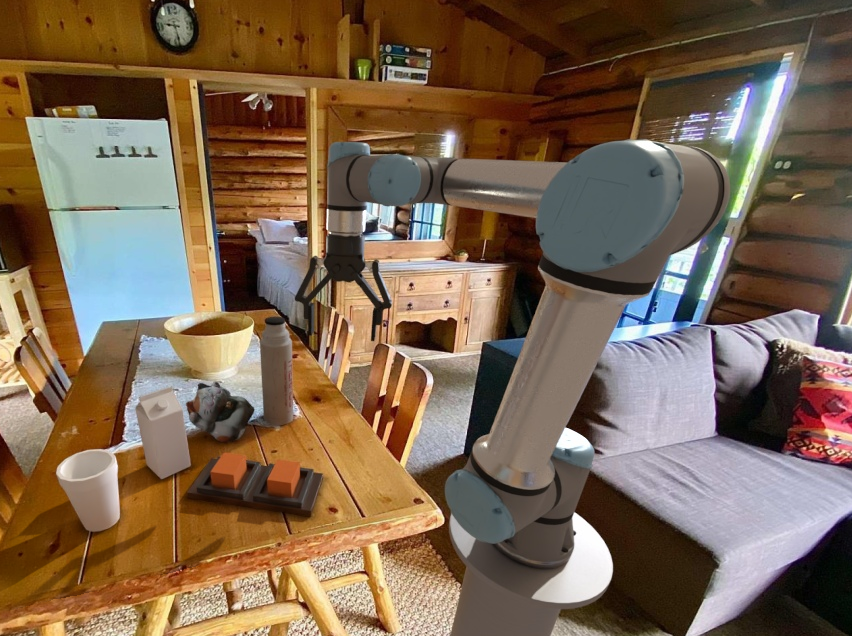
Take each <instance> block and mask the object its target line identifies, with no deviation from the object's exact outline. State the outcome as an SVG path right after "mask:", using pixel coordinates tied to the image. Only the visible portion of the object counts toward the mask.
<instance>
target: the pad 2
mask: <svg viewBox="0 0 852 636" xmlns="http://www.w3.org/2000/svg"><path fill="white" fill-rule="evenodd" d="M274 464H275V465H274V467H273V469H272V471H271V473H270V475H269V477H268V479H267V487H268V495H274V496H280V497H287V498H292V496H293V494H294V491H295V489H296V486H297V484H298V481H299V478H300V467H301V462H298V461H292V460H284V459H276V461H275V463H274Z"/></svg>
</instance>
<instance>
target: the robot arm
mask: <svg viewBox="0 0 852 636" xmlns="http://www.w3.org/2000/svg"><path fill="white" fill-rule="evenodd" d="M327 159H328V160H327V164H326V169H327V172H326V173H327V176H326V177H327V178H326V180H327V184H326V185H327V187H326V189H327V190H326V191H327V192H326V194H327V198H326V204H327V207H326V230H327V232H328V233H327V235H326V242H325V243H326V244H325V248H326V249H325V257H324V258H323V257H319V256H318V255H313V256H312V257H311V258H310V260H309V267H308V270H307V272H306V274H305V276H304V278H303V280H302V282H301V284H300V286H299V288H298V290H297V292H296V294H295V296H294V301H295V302H297V303H301V304H302V305H303V320H307V336H311V337H312V336H313V334H314V333H315V302H312V300H314V299H315V297H316V296H317V295H318V294H319V293H320V292H321V291H322V290H323V289H324V287H325V286H326V285H327V284H328V283H329V282H330V281H331V280H333V281H335V282H336V283H340V282H345V283H352V282H355V283H356V285H357V286H359V287H360V289H361V290H362V292H363V293H364V294H365V297H367V298H368V300H369V301H370V302H371V304H372V305H373V310H372V316H371V318H372V319H371V333H370V342H375V340H376V337H377V335H376V334H377V326H381V325H382V323H383V313H384V310H387V309H388V310H390V309H391V308H392V306H393V300H392V298H391V295H390V293H389V290H388V287H387V285H386V283H385V280H384V277H383V276H382V273H381V270H380V268H381V267H380V260H379V259H377V258H375V259H374V260H366V259H365V244H366V243H365V242H366V237H365V234H363V233H365V232H366V227H367V225H366V223H367V208H368V205H367V204H368V203H369V204H376V205H382V206H384V207H387V208H388V207H403V206H406V205H411V204H415V205H416V204H436V205H443V206H449V207H450V206H452V207H453V206H454V207H460V208H468V209H475V210H481V211H487V212H494V213H500V214H507V215H514V216H520V217H528V218H533V219H535V231H536V234H535V235H538V237H539V240H540V241H539V247H540V248H541V250H542V254H541V256H540V260H539V262H538V266H537V269H538V271H539V273H540V275H541V278H542V279H543V280H544V282H545V286H544V289H543V291H542V293H541V297H540V299H539V302H538V305H537V307H536V310H535V314H534V315H533V317H532V320H531V323H530V326H529V329H528V331H527V334H526V336H525V339H524V342H523V344H522V347H521V350H520V352H519V355H518V358H517V360H516V363H515V365H514V368H513V370H512V372H511V375H510V378H509V381H508V384H507V386H506V389H505V392H504V394H503V397H502V398H501V399H502V400H501V402H500V405H499V407H498V409H497V413H496V415H495V417H494V421H493V423H492V425H491V428H490V431H489V433H488V434H487V433H486V434H485V435H482V436H480V437H478V438H477V439H476V440H475V442H474V443H473V445H472V449H471V451H470V454H469V457H468V459H467V462H466V464H465V465H464V467H463V468H461V469H456V470H455V471H454V472H452V474H450V475H449V476H448V477H447V479H446V481H445V484H444V498H445V501H446V504H447V506H448V508H449V510H450V514H451V513H452V515H453V516H454V518H455V519H456V521H457V522H458V523H459V525H460V526H461V527H462V528H463V529H464V530H465V531H466V532H467V533H468V534H470V535H471V536H472V537H474V538H476V539H477V540H479V541H482V542H488V543H491V544H492V545H493V546H494V547H495V548H496V549H497V550H498V551H499V552H501V553H502V554H503V555H504V556H506V557H507V558H509V559H511V560H513V561H514V562H517V563H519V564H521V565H524V566H527V567H531V568H536V569H554V568H558V567H561V566H563V565H564V564H566V563H567V562H568V561H569V559H570V557H571V555H572V552H573V550H574V536H575V535H576V532H575V531H574V530H573V521H572V517H573V514H574V512H575V511H576V509H577V506H578V503H579V500H580V498H581V495H582V493H583V490H584V487H585V485H586V482H587V479H588V477H589V474H590V471H591V469H593V465H594V464H593V463H594V462H593V461H594V458H595V453H596V452H595V448H594V446H593V445H592V444H591V442H590V441H589V440H588V439H587V438H586V437H584V436H583V435H581V434H580V433H578V432H576V431H574V430H572V429H570V428H567V425H568V423H569V421H570V420H571V417H572V415H573V414H574V411H575V410H576V407H577V405H578V403H579V401H580V400H581V397H582V395H583V393H584V391H585V389H586V387H587V385H588V383H589V381H590V379H591V377H592V375H593V372H594V371H595V368H596V367H597V364H598V363H599V360H600V359H601V356H602V355H603V353H604V351H605V349H606V346H607V344H608V343H609V341H610V339H611V337H612V334H613V332H614V330H615V328H616V326H617V324H618V322H619V320H620V318H621V317H622V314H623V312H624V310H625V308H626V307H627V305H628V304H631V303H633V302H636V301H638V300H640V299H643V298H645V297H648V296H649V295H650V293H652V292H651V291H652V290H653V289H654V287H655V285H656V283H657V281H658V279H659V276H660V275H661V273H662V271H663V270H664V267H665V265H666V263H667V262H668V260H669V257H670V256H671V255H672V256H673V255H675V254H678V253H680V252H683V251H685V250H687V249H689V248H691V247H693V246H695V245H696V244H698V243H699V242H700V241H702V240H703V239H704V238H705V237H706V236H708V235H709V234H711V232H712V231H713V229H714V228H715V227H716V226H717V225H718V224H719V223H720V221H721V219H722V217H723V216H724V214H725V212H726V209H727V206H728V204H729V201H730V196H731V181H730V176H729V174H728V171H727V168H726V167H725V166H724V164H723V163H722V161H720V159H719V158H718V157H716V155H713V153H711V152H710V151H707V150H705V149H703V148H701V147H696V146H692V145H685V144H684V145H683V144H672V143H665V142H661V141H660V142H658V141H654V140H649V139H647V138H643V139H630V138H627V139H625V140H615V141H614V140H613V141H609V142H604V143H600V144H598V145H595V146H592V147H590V148H588V149H586V150H584V151H583V152H581V153H580V154H578V155H576V156H575V157H574V158H572V159H570V160H569V161H568V162H565V161H563V162H561V161H560V162H559V161H540V160H539V161H537V160H536V161H535V160H512V159H509V160H508V159H485V158H484V159H483V158H458V157H449V156H448V157H447V156H445V157H437V156H435V157H433V156H413V155H403V154H400V153H399V154H398V153H397V154H394V153H389V154H373V155H371V147H370V145H369V144H368V143H366V142H357V141H335V142H332V143H331V144H330V146H329V147H328V158H327ZM322 265H323V267H324V268H325V269H326V271H327V274H326V275H325V276H324V277H323V278H322V279H321V281H319V283H318V284H317V285H316V286H315V287H314V288H313V289H312V290H311V292H309V294H308V295H305V293H306V292H307V289H308V287H309V286H310V284H311V281H312V279H313V277H314V276H315V274H316V272H317V270H318V269H320V268H321V266H322ZM366 268H367V269H368V272H370V273H372V276H373V279H374V281H375V284H376V286H377V289H378V292H379V293H380V296H381V299H382V300H381V299H380V297H379V296H378V294H377V293H376V292H375V290H374V289H373V288H372V286H371V285H370V284H369V282H368V281H367V280H366V277H365V276H364V275H363V274H362V272H363V271H364V270H365V269H366Z"/></svg>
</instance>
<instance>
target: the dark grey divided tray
mask: <svg viewBox="0 0 852 636" xmlns="http://www.w3.org/2000/svg"><path fill="white" fill-rule="evenodd" d="M220 457H221V456H219V455H218V456H217V457H216V458H213V457H212V458H211V459H210V460H209V461H208V462H207V464H206V465H205V467H204V468H203V469H202V471H201V472H200V473H199V475H198V476H197V477H196V478H195V480H194V481H193V483H192V484H191V485H190V487H189V488H188V489H187V491H186V496H187V499H193V500H199V501H205V502H211V503H220V504H223V505H232V506H238V507H244V508H252V509H257V510H258V509H259V510H265V511H271V512H278V513H284V514H285V513H286V514H290V515H299V516H304V517H312V516H313V512H314V509H315V505H316V503H317V499H318V496H319V493H320V490H321V487H322V485H323V480H324V473H321V472H315V469H313V468H307V467H302V466H300V478H299V481H298V484H297V486H296V489H295V491H294V494H293V496H292V498H287V497H280V496H274V495H268V487H267V479H268V477H269V475H270V473H271V471H272V469H273V467H274V465H275V463H272V462H270V463H269V464H268V465H263V464H262V462H261V461H257V460H250V459H249V460H248V459H246V467H247V470H246V472H245V474H244V476H243V477H242V479H241V481H240V483H239V484H238V486H237V488H236V490H233V489H226V488H219V487H212V481H211V473H210V472H211V470H212V469H213V467H214V466H215V464H216V463H217V462H218V460H219V459H220Z"/></svg>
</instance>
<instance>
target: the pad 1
mask: <svg viewBox="0 0 852 636" xmlns="http://www.w3.org/2000/svg"><path fill="white" fill-rule="evenodd" d="M219 457H220V459H219V460H218V462H217V463H216V464H215V466H214V467H213V469H212V470H211V472H210V473H211V481H212V487H219V488H226V489H233V490H236V488H237V486H238V484H239V483H240V481H241V479H242V477H243V476H244V474H245V472H246V470H247V467H246V460H247V455H246V454H238V453H231V452H223V453H222V454H221V455H220V456H219Z"/></svg>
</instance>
